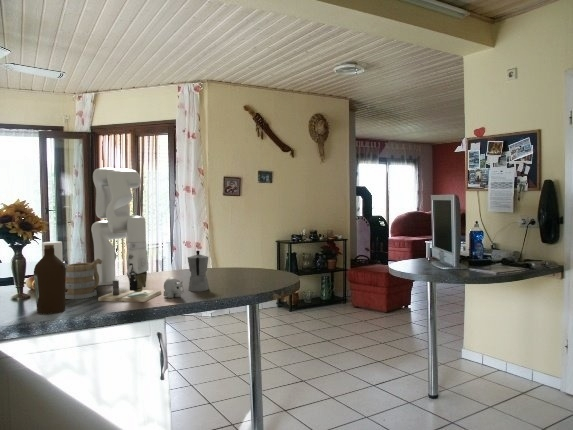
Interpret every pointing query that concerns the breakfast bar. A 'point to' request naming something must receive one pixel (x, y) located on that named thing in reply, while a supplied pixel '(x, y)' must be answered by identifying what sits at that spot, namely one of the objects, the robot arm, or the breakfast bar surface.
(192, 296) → the breakfast bar surface
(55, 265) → the olive oil
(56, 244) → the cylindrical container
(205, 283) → the coffeepot
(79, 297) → the tankard
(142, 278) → the cup
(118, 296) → the board
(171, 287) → the chubby cartoon animal
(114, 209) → the robot arm
